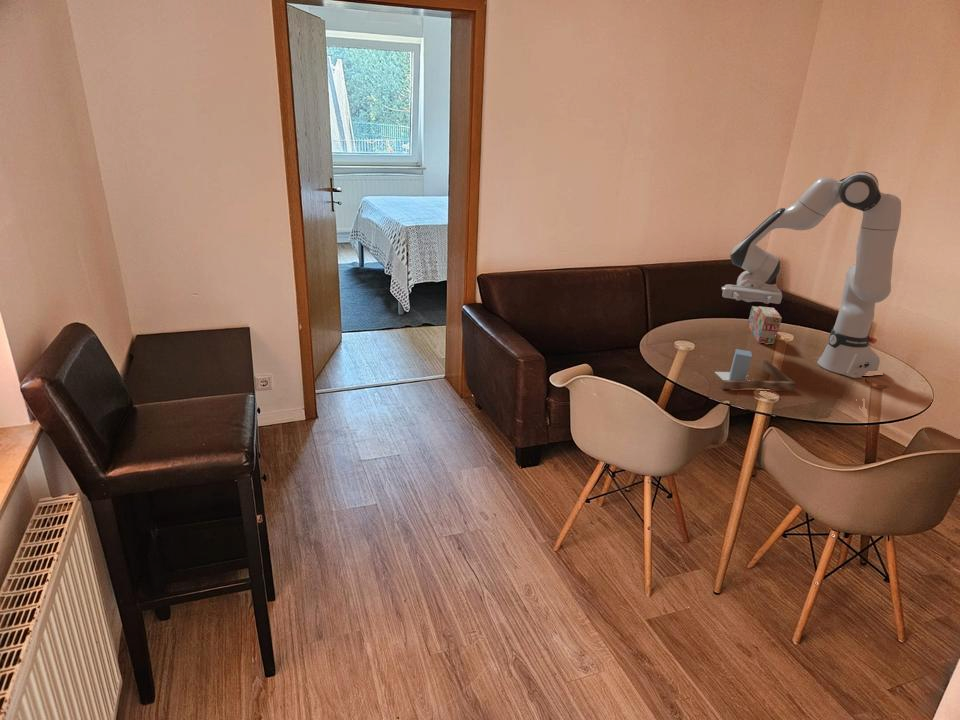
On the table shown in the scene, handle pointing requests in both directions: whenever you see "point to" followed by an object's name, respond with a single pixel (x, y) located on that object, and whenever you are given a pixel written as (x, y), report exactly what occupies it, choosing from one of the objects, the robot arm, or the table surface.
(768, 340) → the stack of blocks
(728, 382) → the walnut fence
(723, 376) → the felt pad
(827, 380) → the table surface
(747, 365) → the slate-blue block
